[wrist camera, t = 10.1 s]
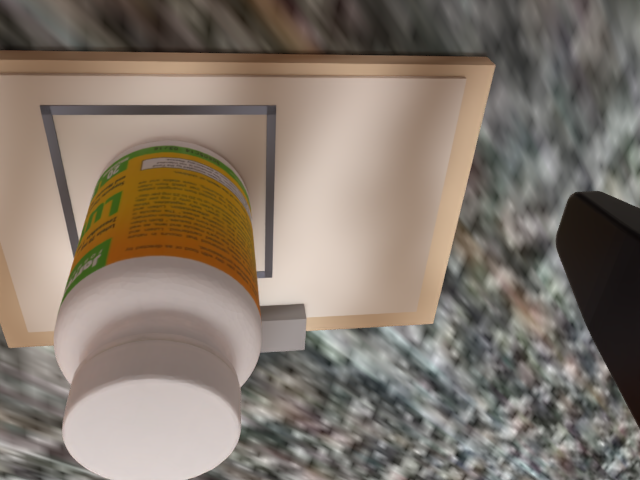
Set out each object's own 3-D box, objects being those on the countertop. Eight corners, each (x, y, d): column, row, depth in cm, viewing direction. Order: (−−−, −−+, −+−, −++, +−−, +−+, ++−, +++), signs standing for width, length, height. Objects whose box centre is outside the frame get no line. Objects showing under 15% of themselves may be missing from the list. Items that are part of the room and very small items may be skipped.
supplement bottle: (108, 116, 19) (39, 337, 12) (270, 158, 21) (304, 374, 13) (82, 247, 22) (14, 495, 14) (227, 274, 24) (234, 509, 16)
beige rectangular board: (486, 56, 21) (508, 77, 19) (427, 311, 28) (440, 341, 27) (-80, 49, 18) (-107, 72, 17) (13, 333, 25) (1, 368, 24)
